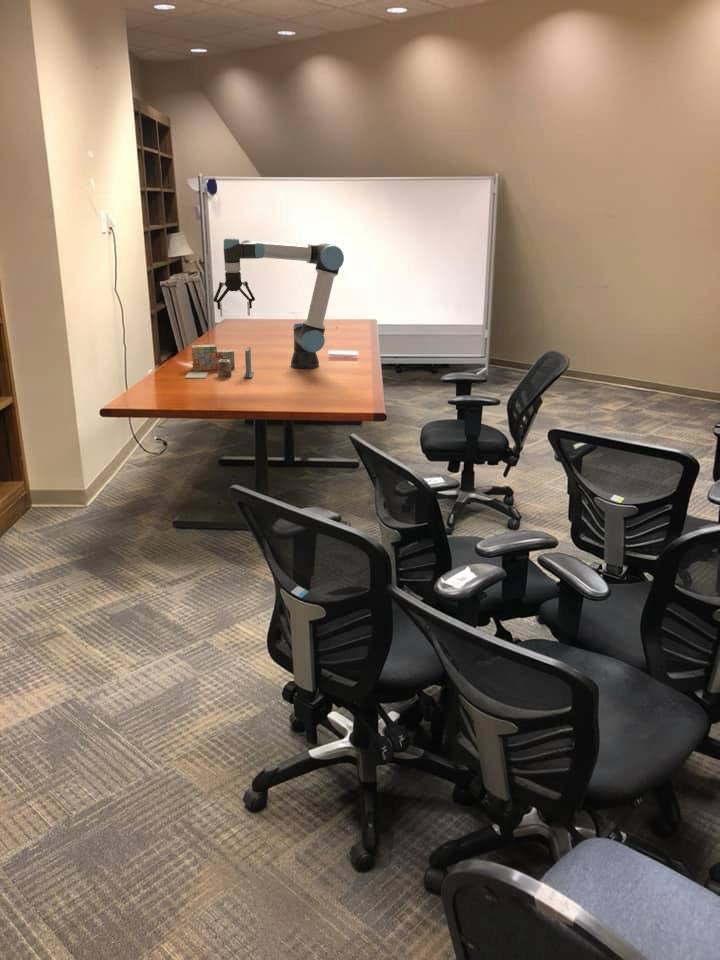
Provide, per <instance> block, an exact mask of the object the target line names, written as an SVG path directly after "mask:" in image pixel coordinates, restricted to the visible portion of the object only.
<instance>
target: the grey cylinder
mask: <svg viewBox="0 0 720 960" xmlns="http://www.w3.org/2000/svg"><path fill="white" fill-rule="evenodd" d="M217 376H218V377H217V378H231V377H232V369H231V360H219V361H218V369H217Z"/></svg>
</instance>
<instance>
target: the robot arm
mask: <svg viewBox="0 0 720 960" xmlns="http://www.w3.org/2000/svg"><path fill="white" fill-rule="evenodd" d="M223 258H224V260H223V261H224V271H225V273H224V277H225V281H224V282H221V281H219V282H218V289H217V290H216V293H215V295H214V297H213V302H214V303H216V304H217V310H219V313H220V317H221V318H222V317H223V305H222V300H223V299H224V298H225V296H227V294H228V293H229V292H240V293H241V294H242V295H243V296H244V297H245V299H246V300H248V301H247V302H246V303H247V304H246V307H247V315H248V316H251V309H253V308H252V307H253V305H252V303H253V302H255V301H256V298H255V296H254V294H253V292H252V291H251V289H250V286H249V284H248V281H246V280H245V281H242V273H241V260H242V259H243V260H244V259H247V260H251V259H254V260H255V259H272V260H273V259H275V260H287V261H301V262H306V263H307V264H313V265H315V271H316V278H315V284H314V288H313V292H312V296H311V301H310V304H309V305H310V306H309V309H308V314H307V318H306V320H305V321H304V322H295V323H294V325H293V354H292V357H291V360H290V367H291V368H294V369H295V368H296V369H314V368H318V367H319V366H320V361H319V358H318V355H317V352H319V351H321V350H322V349H323V347H324V346H325V343H326V342H325V341H326V340H325V336H324V335H325V330H326V327H325V325H324V322H325V317H326V314H327V310H328V305H329V301H330V296H331V293H332V287H333V285H334V280H335V277H337V276H338V275H339V271H340V268H341V267H342V266H343V263H344V259H345V257H344V252H343V251H342V249H341V248H340V247H339V246H337V245H335V244H330V243H308V244H307V245H300V244H291V243H290V244H289V243H276V242H266V241H265V242H264V241H263V242H262V241H252V240H251V241H250V240H243V241H241V242H240V239H239V238H235V237H233V238H230V237H229V238H224V239H223ZM243 286H244V287H245V289H246V290H247V292H248V294H249V295H247V293H246V292H245V291H244V290H243V289H242V288H241V287H243ZM223 287H226V288H225V290H223V292H222V294H221V290H222V288H223ZM220 294H221V295H220ZM219 295H220V296H219ZM249 296H250V297H249Z"/></svg>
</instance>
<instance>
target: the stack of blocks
mask: <svg viewBox="0 0 720 960" xmlns="http://www.w3.org/2000/svg"><path fill="white" fill-rule="evenodd" d="M191 356H192V357H191V358H192V370H193V371H214V370H215V371H216V370H217V371H218V361H219V360H231V370H233V369H234V370H235V369H236V368H235V366H236V365H235V351H234V349H217V346H216V344H215V343H214V344H196V345H191Z"/></svg>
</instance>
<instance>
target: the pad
mask: <svg viewBox="0 0 720 960" xmlns="http://www.w3.org/2000/svg"><path fill="white" fill-rule="evenodd" d="M208 375H209V372H208V371H207V372H206V371H202V372H201V371H190V372H189V371H188V373H187V374H186V375H185V377H184V379H185V378H197V379H198V380H200V379H202V380H204V379H205V380H206V378H207V376H208ZM197 379H196V380H197Z"/></svg>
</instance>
